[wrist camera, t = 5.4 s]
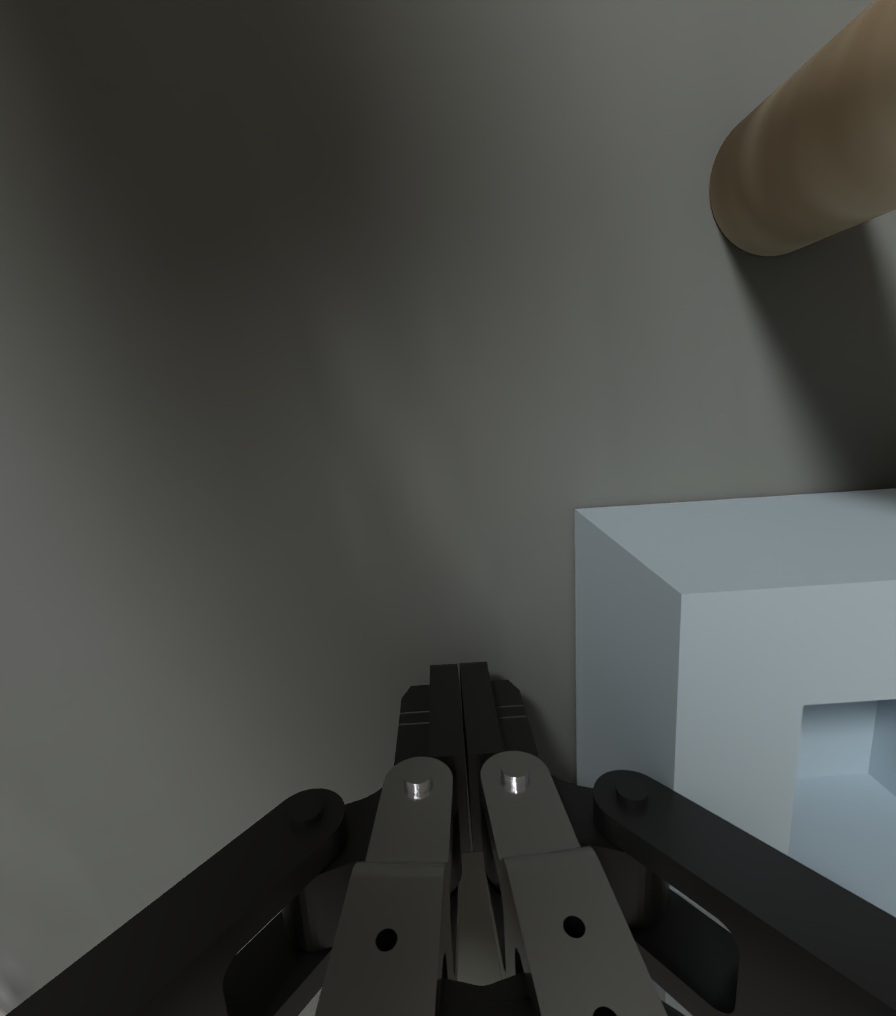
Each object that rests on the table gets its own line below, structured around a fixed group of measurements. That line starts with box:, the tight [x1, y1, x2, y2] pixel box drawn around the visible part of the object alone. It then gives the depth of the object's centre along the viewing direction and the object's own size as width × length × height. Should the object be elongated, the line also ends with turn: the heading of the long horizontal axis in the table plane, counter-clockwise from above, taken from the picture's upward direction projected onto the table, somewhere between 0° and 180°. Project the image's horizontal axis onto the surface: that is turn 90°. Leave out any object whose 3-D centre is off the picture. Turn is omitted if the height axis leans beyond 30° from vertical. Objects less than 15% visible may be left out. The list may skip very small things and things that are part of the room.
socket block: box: [575, 488, 896, 1016], centre depth 11 cm, size 9×9×6 cm
